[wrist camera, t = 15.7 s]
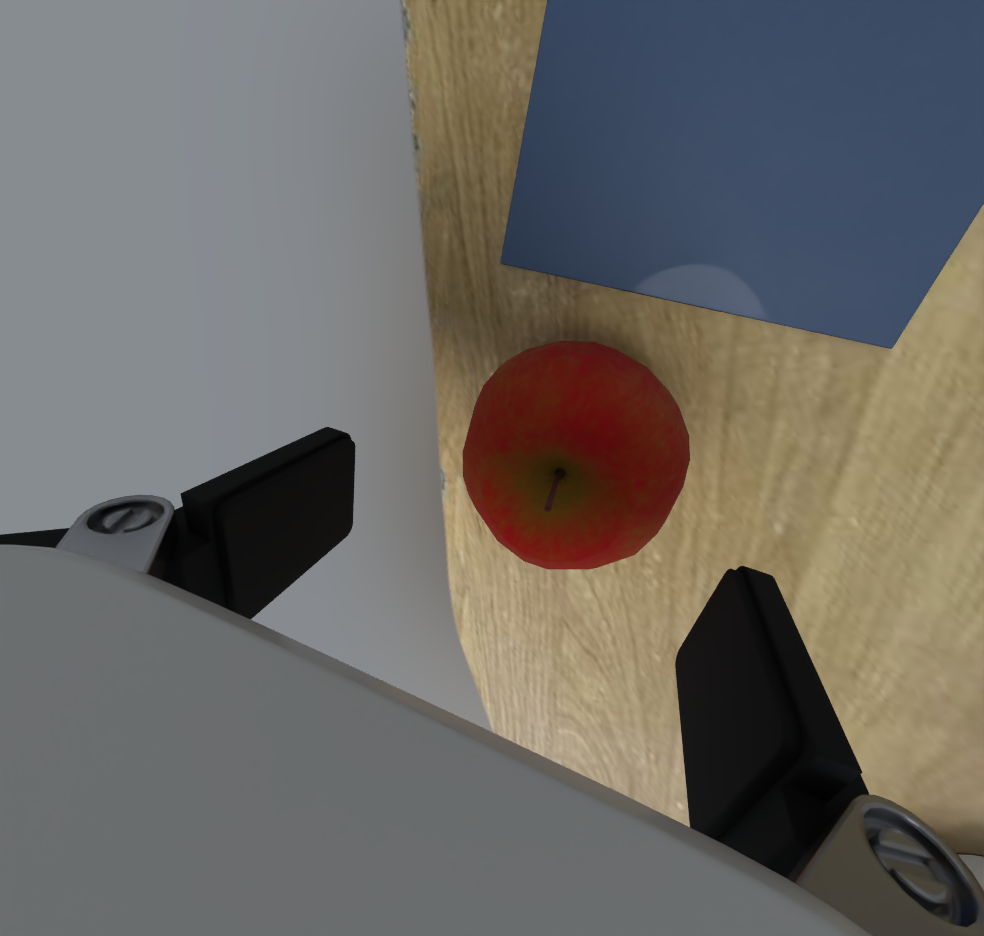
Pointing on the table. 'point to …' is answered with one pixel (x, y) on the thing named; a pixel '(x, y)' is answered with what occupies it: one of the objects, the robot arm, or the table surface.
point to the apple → (575, 455)
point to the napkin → (755, 154)
